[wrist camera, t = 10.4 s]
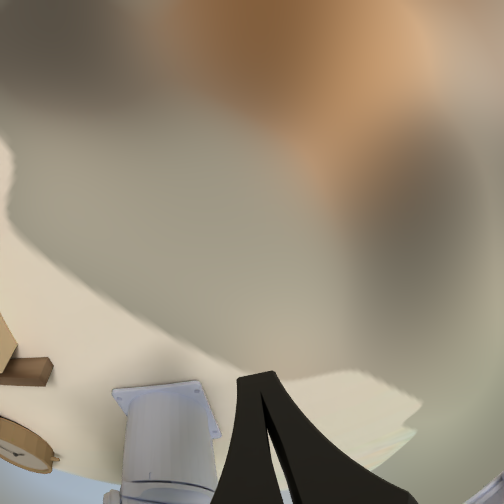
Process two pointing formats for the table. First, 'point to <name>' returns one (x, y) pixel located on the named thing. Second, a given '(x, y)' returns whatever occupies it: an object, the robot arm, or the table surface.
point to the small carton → (5, 344)
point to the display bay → (26, 372)
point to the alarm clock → (25, 448)
